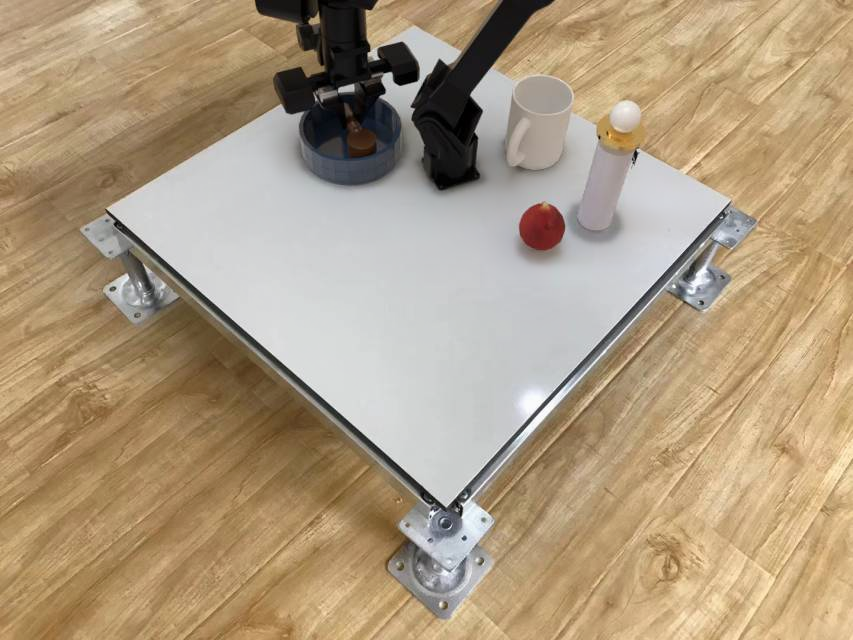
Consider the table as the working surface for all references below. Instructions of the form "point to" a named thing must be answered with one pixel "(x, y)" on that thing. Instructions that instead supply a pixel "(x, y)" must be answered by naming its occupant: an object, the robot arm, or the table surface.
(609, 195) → the perfume bottle
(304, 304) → the table surface
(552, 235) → the onion
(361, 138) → the ladle
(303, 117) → the bowl
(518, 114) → the mug
